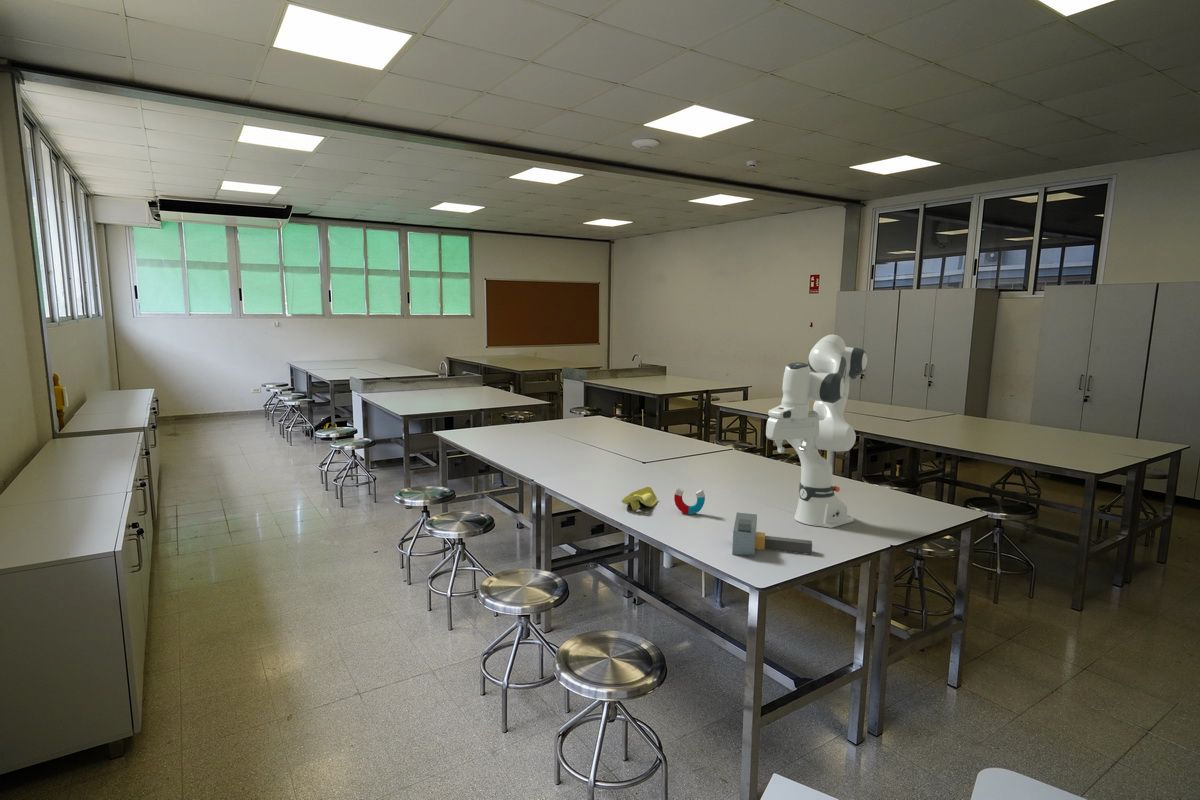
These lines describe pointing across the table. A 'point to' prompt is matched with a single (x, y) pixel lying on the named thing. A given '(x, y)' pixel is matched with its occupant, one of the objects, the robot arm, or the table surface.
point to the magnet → (686, 508)
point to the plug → (782, 544)
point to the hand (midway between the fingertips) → (791, 451)
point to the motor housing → (744, 534)
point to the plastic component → (641, 498)
